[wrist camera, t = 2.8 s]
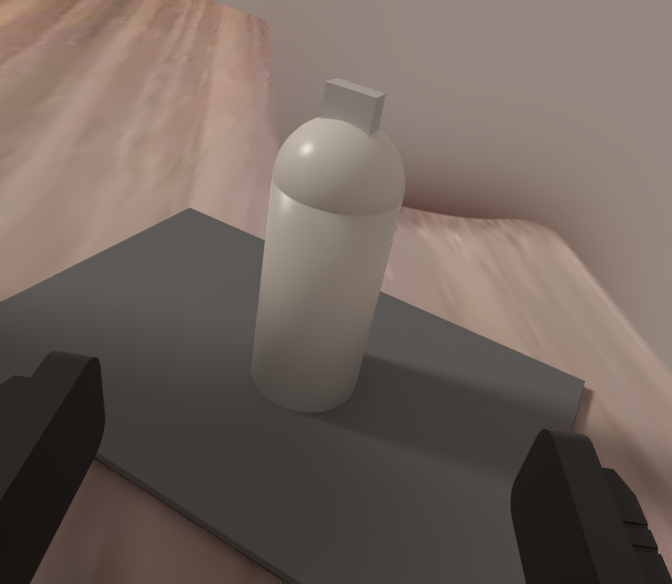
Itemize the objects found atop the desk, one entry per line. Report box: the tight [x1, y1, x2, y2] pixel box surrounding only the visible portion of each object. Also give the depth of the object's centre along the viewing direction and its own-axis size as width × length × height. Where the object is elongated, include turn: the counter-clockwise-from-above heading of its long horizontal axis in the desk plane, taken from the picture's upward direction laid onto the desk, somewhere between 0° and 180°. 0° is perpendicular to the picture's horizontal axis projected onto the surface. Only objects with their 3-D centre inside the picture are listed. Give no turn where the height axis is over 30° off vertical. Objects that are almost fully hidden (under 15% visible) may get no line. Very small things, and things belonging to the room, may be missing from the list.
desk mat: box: [0, 208, 585, 584], centre depth 26 cm, size 24×16×1 cm, turn 61°
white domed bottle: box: [251, 78, 405, 413], centre depth 22 cm, size 5×5×12 cm
